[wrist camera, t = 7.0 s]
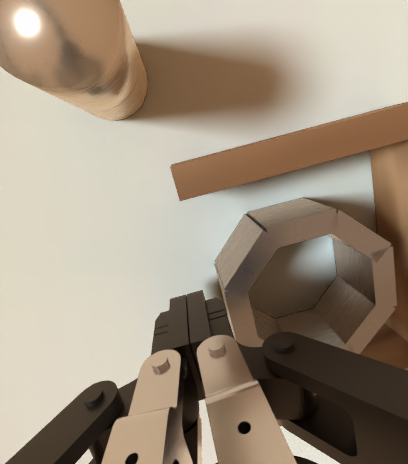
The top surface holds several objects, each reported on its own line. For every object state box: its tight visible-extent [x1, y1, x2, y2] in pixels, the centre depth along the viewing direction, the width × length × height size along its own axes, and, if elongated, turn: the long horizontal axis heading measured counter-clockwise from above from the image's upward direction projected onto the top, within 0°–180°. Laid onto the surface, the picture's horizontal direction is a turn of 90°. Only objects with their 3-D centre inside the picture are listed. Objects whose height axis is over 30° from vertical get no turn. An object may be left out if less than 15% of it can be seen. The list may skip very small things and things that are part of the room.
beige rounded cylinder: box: [0, 0, 148, 120], centre depth 9 cm, size 3×3×6 cm
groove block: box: [170, 102, 408, 426], centre depth 13 cm, size 12×10×3 cm
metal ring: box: [215, 198, 397, 354], centre depth 13 cm, size 7×7×3 cm
